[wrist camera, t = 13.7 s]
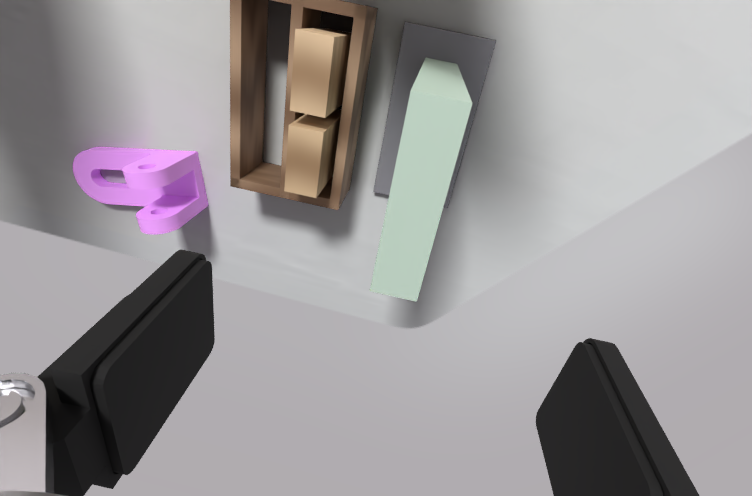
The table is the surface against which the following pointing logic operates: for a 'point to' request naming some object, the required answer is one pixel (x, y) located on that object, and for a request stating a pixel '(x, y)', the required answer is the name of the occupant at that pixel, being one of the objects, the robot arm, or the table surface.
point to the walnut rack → (250, 95)
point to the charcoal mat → (414, 49)
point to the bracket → (146, 184)
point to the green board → (421, 178)
